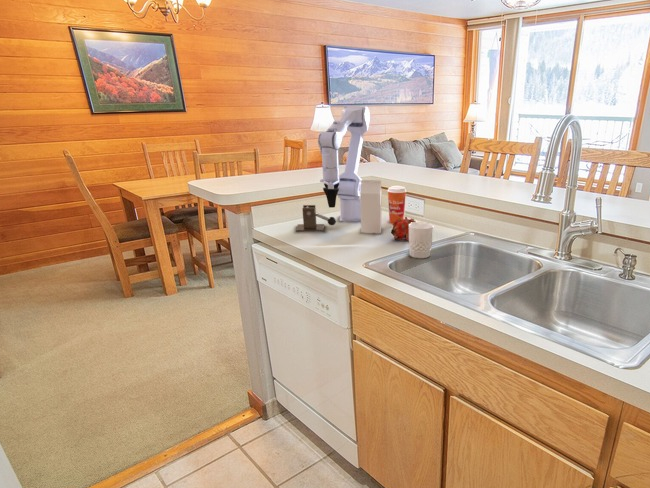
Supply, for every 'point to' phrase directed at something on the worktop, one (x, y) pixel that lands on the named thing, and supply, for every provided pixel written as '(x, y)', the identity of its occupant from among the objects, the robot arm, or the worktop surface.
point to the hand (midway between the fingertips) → (332, 204)
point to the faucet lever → (330, 220)
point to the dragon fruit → (401, 228)
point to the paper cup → (396, 202)
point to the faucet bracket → (309, 220)
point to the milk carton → (370, 206)
